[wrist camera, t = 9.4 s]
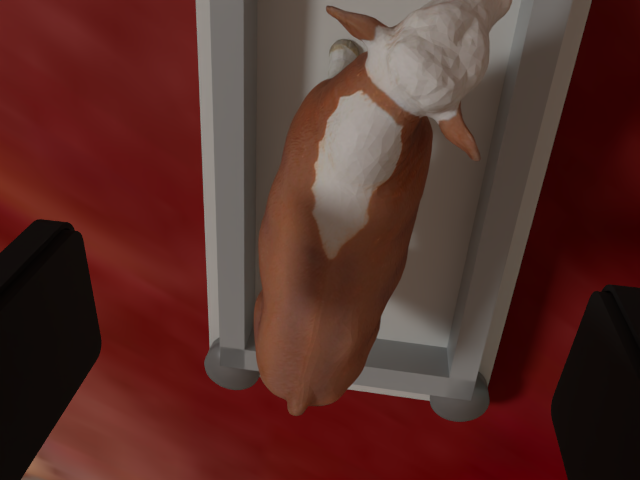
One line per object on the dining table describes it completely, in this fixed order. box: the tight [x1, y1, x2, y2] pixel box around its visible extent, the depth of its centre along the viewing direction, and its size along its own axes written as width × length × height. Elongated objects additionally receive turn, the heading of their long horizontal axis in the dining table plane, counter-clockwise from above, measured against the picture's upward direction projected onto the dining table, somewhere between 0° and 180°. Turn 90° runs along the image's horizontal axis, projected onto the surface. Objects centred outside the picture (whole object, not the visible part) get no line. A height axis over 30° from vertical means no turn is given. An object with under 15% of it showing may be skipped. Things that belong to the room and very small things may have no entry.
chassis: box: [196, 0, 592, 422], centre depth 20 cm, size 22×12×3 cm, turn 176°
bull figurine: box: [254, 0, 512, 416], centre depth 17 cm, size 4×13×8 cm, turn 163°
